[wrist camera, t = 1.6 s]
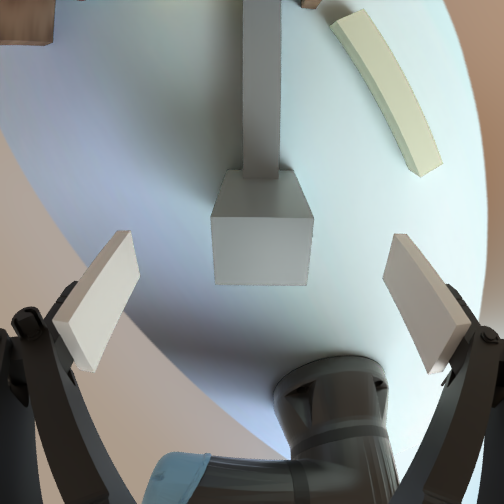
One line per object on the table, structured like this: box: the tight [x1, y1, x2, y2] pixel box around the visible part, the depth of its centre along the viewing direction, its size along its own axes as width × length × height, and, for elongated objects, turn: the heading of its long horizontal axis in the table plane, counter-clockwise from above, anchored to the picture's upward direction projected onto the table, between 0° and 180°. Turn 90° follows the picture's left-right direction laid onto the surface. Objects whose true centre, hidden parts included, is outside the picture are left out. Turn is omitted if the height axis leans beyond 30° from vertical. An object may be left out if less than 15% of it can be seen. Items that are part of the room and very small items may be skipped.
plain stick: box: [329, 9, 443, 177], centre depth 18 cm, size 13×2×2 cm, turn 34°
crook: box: [211, 0, 314, 285], centre depth 15 cm, size 21×10×9 cm, turn 0°
